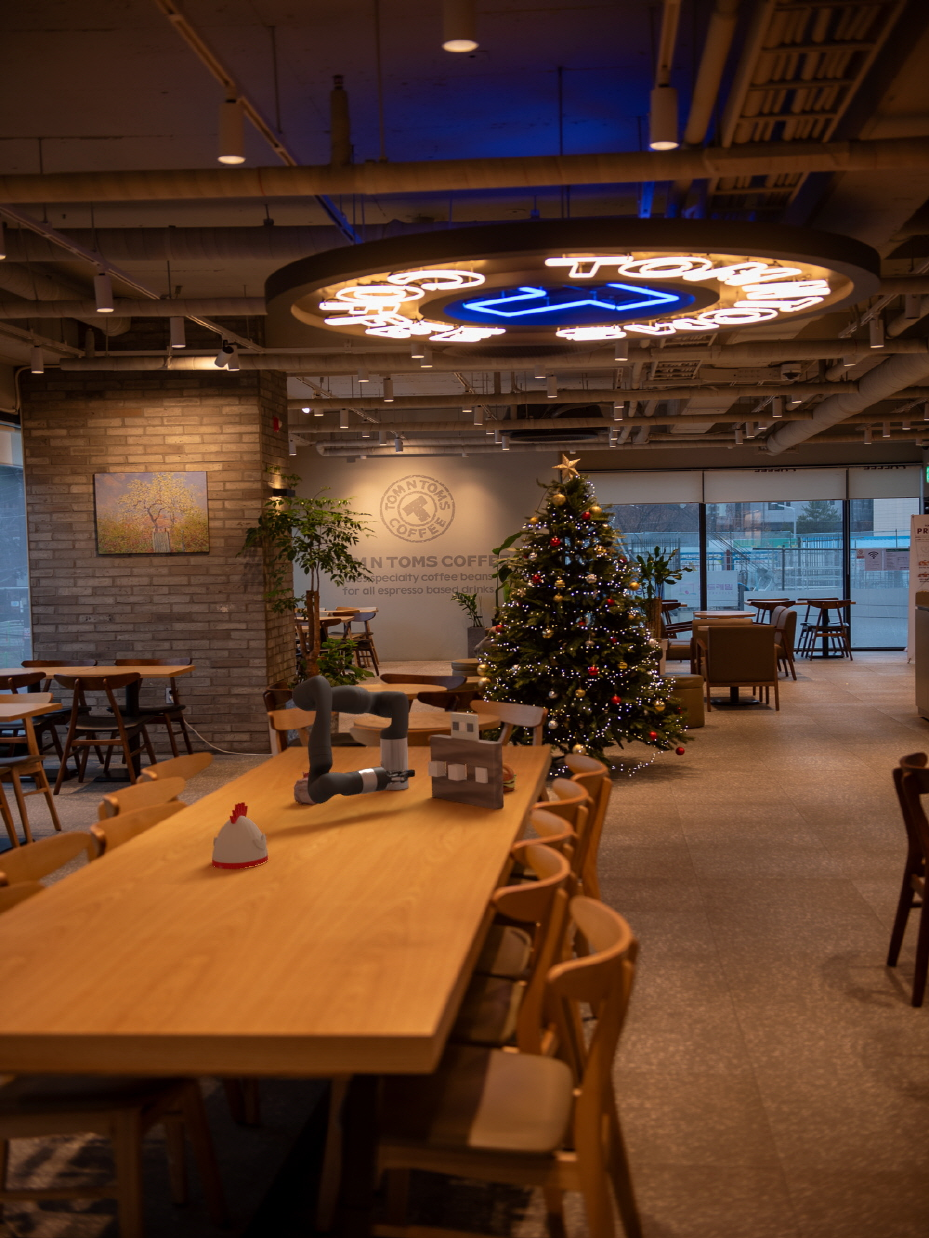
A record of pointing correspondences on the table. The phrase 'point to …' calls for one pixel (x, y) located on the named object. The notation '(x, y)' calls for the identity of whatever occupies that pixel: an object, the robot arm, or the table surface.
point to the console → (469, 771)
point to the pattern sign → (464, 726)
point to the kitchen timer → (239, 842)
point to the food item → (302, 791)
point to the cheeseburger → (508, 778)
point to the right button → (481, 774)
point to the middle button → (457, 772)
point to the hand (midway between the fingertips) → (413, 772)
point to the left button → (436, 768)
